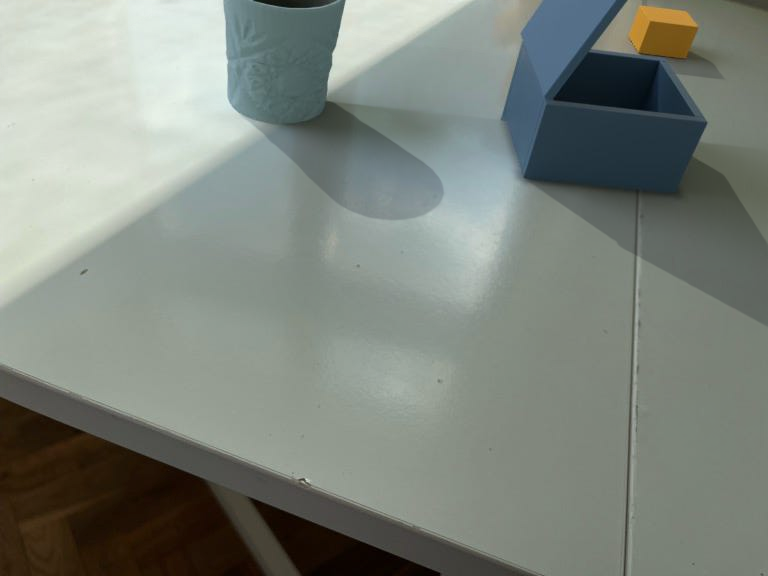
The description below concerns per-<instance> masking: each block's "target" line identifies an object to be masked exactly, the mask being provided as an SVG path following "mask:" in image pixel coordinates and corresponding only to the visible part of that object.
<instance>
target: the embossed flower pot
mask: <svg viewBox="0 0 768 576" xmlns="http://www.w3.org/2000/svg"><path fill="white" fill-rule="evenodd" d="M346 1H347V0H222V2H223V13H224V21H225V56H226V60H227V61H226V62H227V63H226V71H227V81H226V82H227V84H226V85H227V87H226V88H227V89H226V91H227V92H226V93H227V95H226V96H227V101H228V103H229V104H230V106H231V107H232V108H233V109H234V110H235V111H236V112H238V113H239V114H240V115H242V116H245V117H247V118H249V119H252V120H254V121H259V122H262V123H268V124H278V125H287V124H291V125H292V124H298V123H303V122H305V121H306V122H307V121H310V120H312V119H315V118H316V117H317V116H319V115H320V114H321V113H322V112H323V110H324V109H325V105H326V101H327V96H328V91H329V89H328V88H329V87H328V85H329V84H328V83H329V82H328V81H329V78H330V73H331V70H332V67H333V54H334V52H335V49H336V48H337V44H338V39H339V32H340V29H341V23H342V19H343V15H344V10H345V5H346Z"/></svg>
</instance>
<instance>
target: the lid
mask: <svg viewBox="0 0 768 576" xmlns="http://www.w3.org/2000/svg"><path fill="white" fill-rule="evenodd" d="M628 1H629V0H542V1H541V2H540V4H539V5H538V7H537V8H536V10H534V13H533V14H532V15H531V17H530V18H529V20H528V21H527V23H526V24H525V25H524V27H523V28H522V30H521V31H520V33H519V34H520V36H521V39H522V41H523V42H524V45H525V47H526V50H527V53H528V55H529V58H530V60H531V63H532V66H533V68H534V71H535V74H536V76H537V79H538V82H539V84H540V87H541V89H542V92H543V95H544V97H546V98H548V99H550V100H552V99H553V98H554V97H555V96H556V94H557V93H558V92H559V90H560V89H561V88H562V86H563V85H564V84H565V82H566V81H567V80H568V78H569V77H570V76H571V74H572V73H573V72H574V71H575V69H576V68H577V67H578V65H579V64H580V63H581V61H582V60H583V59H584V57H585V56H586V55H587V53H588V52H589V51H590V49H593V47H594V46H595V44H596V43H597V41H598V40H599V39H600V38H601V36H602V35H603V34H604V32H605V31H606V30H607V28H608V27H609V26H610V25H611V23H612V22H613V21H614V19H615V18H616V16H617V15H618V14H619V13H620V11H621V10H622V9H623V7H624V6H625V5H626V4H627V2H628Z"/></svg>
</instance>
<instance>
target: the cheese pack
mask: <svg viewBox="0 0 768 576" xmlns="http://www.w3.org/2000/svg"><path fill="white" fill-rule="evenodd" d="M699 29H700V26H699V25H698V24H697V23H696V21H695V20H694V19H693V18H692V16H691V15H690V13H689V12H688V11H687V10H678V9H670V8H663V7H657V6H656V7H655V6H647V5H639V6H638V8H637V11H636V14H635V17H634V20H633V22H632V25H631V29H630V30H629V34H628V36H629V37H628V39H629V38H630V39H629V41H630V40H631V41H632V42H631V41H630V42H631V44H632V43H633V44H632V45H633V47H634V46H635V47H634V49H635V48H636V49H637V50H636V49H635V50H636V52H637V51H638V52H637V53H638V54H641V55H651V56H657V57H666V58H667V57H668V58H677V59H683V60H684V59H685V60H686V59H687V56H688V54H689V52H690V50H691V47H692V46H693V42H694V40H695V37H696V35H697V33H698V31H699Z"/></svg>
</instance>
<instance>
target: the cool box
mask: <svg viewBox="0 0 768 576" xmlns="http://www.w3.org/2000/svg"><path fill="white" fill-rule="evenodd" d="M500 121H502V122H506V124H507V127H508V131H509V134H510V137H511V141H512V145H513V148H514V151H515V154H516V158H517V161H518V164H519V168H520V171H521V175H522V178H523V179H526V180H527V179H528V180H537V181H538V180H539V181H549V182H559V183H567V184H577V185H586V186H587V185H588V186H596V187H597V186H598V187H606V188H607V187H609V188H616V189H617V188H618V189H627V190H637V191H645V192H646V191H648V192H655V193H656V192H657V193H667V194H675V193H676V191H677V189H678V187H679V185H680V184H681V181H682V179H683V177H684V174H685V172H686V170H687V168H688V166H689V164H690V161H691V160H692V157H693V155H694V153H695V151H696V149H697V147H698V144H699V142H700V140H701V139H702V136H703V134H704V132H705V130H706V128H707V125H708V123H709V122H708V120H707V119H706V117H705V116H704V115H703V112H702V111H701V110H700V108H699V107H698V105H697V104H696V102H695V100H694V99H693V98H692V96H691V95H690V93H689V92H688V90H687V88H686V87H685V85H684V84H683V82H682V81H681V79H680V78H679V77H678V75H677V74H676V72H675V70H674V69H673V68H672V66H671V64H670V63H669V62H668V60H667V59H666V58H665V57H661V56H653V55H651V56H649V55H645V54H635V53H626V52H617V51H611V50H602V49H594V48H591V49H590V51H589V52H588V53H587V55H586V56H585V57H584V59H583V60H582V61H581V63H580V64H579V65H578V67H577V68H576V69H575V71H574V72H573V73H572V74H571V76H570V77H569V78H568V80H567V81H566V82H565V84H564V85H563V86H562V88H561V89H560V90H559V92H558V93H557V94H556V96H555V97H554V98H553V99H552V100H550V99H548V98H546V97H544V95H543V92H542V89H541V87H540V84H539V82H538V79H537V76H536V74H535V71H534V68H533V66H532V63H531V60H530V58H529V55H528V53H527V50H526V47H525V45H524V42H523V40H522V41H521V44H520V47H519V51H518V54H517V58H516V62H515V65H514V70H513V73H512V77H511V80H510V84H509V87H508V92H507V95H506V99H505V103H504V106H503V110H502V114H501V118H500Z"/></svg>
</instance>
